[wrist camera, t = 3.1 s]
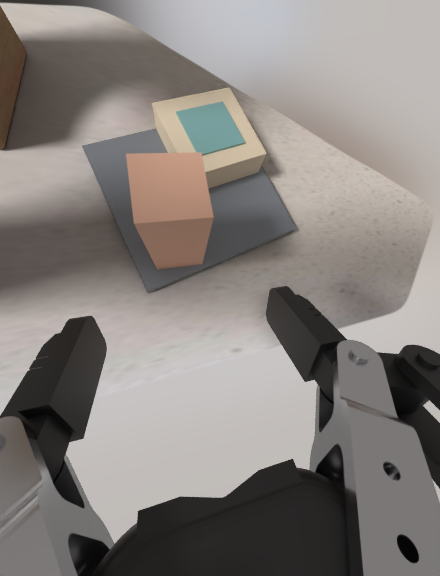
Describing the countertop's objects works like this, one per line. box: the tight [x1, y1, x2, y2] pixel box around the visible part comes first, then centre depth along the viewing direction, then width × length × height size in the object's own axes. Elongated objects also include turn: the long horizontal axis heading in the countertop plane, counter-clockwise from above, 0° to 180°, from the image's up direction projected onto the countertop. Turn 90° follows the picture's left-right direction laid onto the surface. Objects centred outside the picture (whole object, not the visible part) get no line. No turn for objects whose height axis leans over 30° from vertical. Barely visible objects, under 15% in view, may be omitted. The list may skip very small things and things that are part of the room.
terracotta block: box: [126, 152, 214, 270], centre depth 18 cm, size 5×5×10 cm
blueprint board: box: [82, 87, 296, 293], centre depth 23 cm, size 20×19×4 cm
